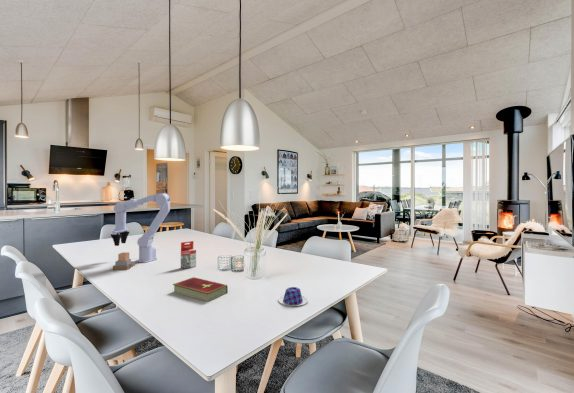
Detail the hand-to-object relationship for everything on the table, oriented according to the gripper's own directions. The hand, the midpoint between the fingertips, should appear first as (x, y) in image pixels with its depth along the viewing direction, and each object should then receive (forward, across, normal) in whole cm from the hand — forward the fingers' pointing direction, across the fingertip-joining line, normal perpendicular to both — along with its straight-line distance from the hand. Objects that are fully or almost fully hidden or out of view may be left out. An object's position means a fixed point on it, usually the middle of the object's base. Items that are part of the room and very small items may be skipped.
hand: (120, 244), depth 174 cm
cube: (+6, +14, +10) cm, 18 cm away
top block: (+8, +15, +9) cm, 19 cm away
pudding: (+9, +64, +102) cm, 121 cm away
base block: (+11, +14, +10) cm, 21 cm away
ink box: (+10, +14, +46) cm, 49 cm away
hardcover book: (+10, +54, +62) cm, 83 cm away
